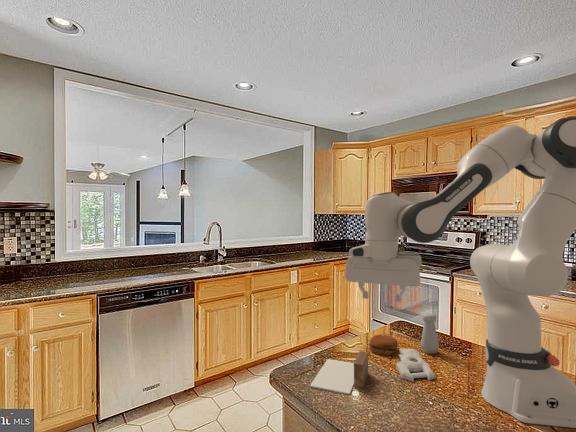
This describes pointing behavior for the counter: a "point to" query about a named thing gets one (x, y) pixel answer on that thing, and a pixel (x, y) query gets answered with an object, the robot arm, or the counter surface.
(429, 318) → the salt shaker
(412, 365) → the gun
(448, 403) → the counter surface
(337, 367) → the mat
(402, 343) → the counter surface
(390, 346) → the burger
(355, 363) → the block
